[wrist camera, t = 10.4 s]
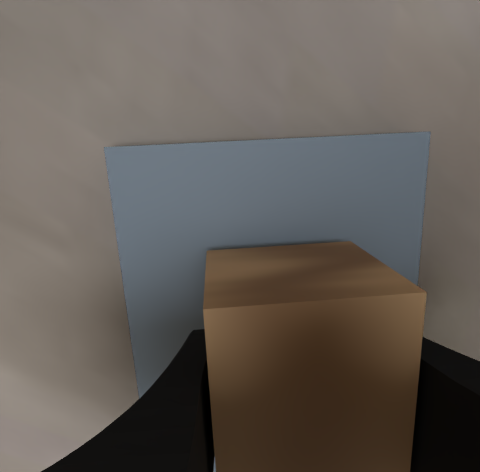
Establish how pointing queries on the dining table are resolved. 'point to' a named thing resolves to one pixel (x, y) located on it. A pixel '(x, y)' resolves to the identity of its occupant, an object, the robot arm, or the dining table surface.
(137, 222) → the channel
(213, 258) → the block
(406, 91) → the dining table surface
